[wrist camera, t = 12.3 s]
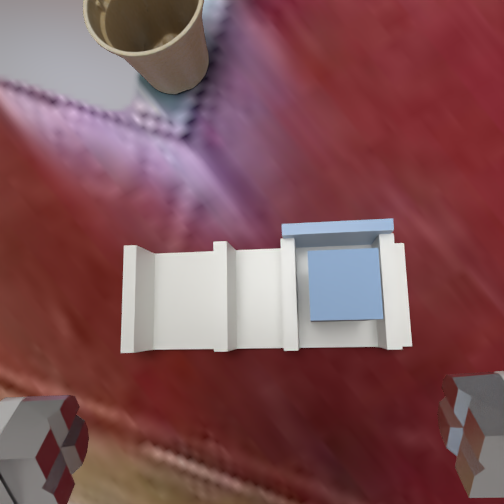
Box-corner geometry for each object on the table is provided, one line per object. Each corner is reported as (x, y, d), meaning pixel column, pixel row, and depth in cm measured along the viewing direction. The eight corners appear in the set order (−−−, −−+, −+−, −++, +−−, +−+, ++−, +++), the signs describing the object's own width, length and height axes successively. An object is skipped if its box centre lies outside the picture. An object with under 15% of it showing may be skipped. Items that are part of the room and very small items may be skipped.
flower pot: (221, 113, 39) (196, 54, 31) (123, 111, 40) (73, 55, 32) (230, 19, 41) (209, -61, 32) (135, 21, 42) (91, -55, 34)
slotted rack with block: (128, 349, 37) (93, 354, 31) (131, 247, 38) (98, 233, 32) (409, 345, 34) (430, 350, 28) (401, 235, 35) (419, 217, 29)
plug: (310, 321, 34) (310, 320, 24) (308, 271, 35) (307, 250, 25) (362, 320, 34) (383, 318, 24) (359, 269, 34) (378, 247, 25)
